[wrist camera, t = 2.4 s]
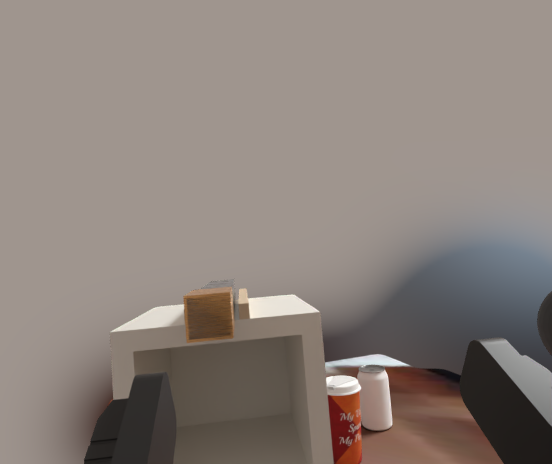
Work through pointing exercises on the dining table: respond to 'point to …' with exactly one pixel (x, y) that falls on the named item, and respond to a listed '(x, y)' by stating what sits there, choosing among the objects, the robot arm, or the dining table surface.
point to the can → (374, 398)
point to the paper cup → (345, 419)
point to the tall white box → (236, 382)
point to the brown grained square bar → (210, 312)
